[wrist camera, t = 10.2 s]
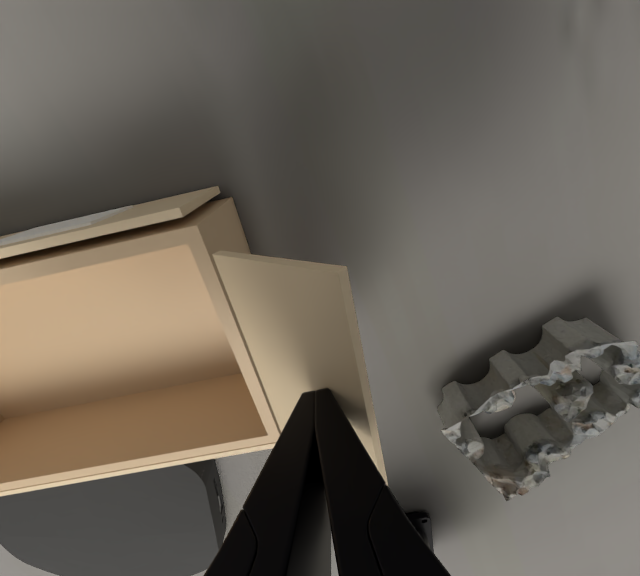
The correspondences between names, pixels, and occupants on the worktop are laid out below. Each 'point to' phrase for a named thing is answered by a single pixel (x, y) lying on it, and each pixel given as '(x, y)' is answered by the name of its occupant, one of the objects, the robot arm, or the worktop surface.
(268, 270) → the flap
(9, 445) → the carton
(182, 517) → the media streaming box
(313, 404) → the robot arm
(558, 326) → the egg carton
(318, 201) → the worktop surface
